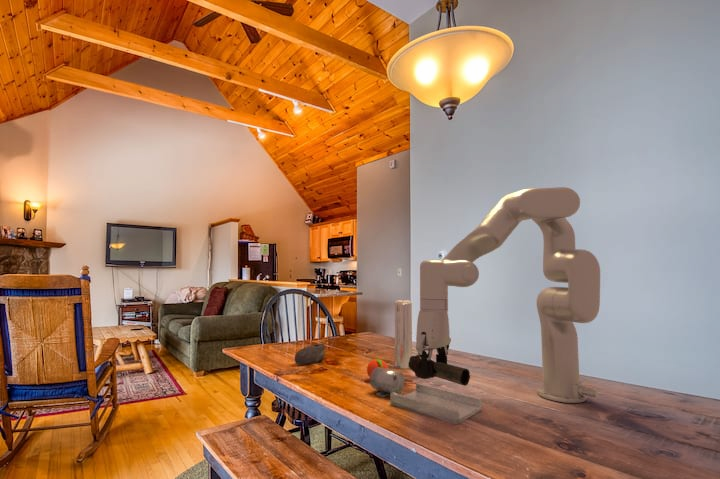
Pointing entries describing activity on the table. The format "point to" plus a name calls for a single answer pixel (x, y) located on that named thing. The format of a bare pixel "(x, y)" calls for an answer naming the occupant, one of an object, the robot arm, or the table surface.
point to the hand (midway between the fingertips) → (434, 371)
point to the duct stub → (386, 381)
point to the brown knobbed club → (441, 371)
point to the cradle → (438, 403)
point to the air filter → (403, 333)
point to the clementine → (375, 365)
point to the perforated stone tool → (310, 354)
